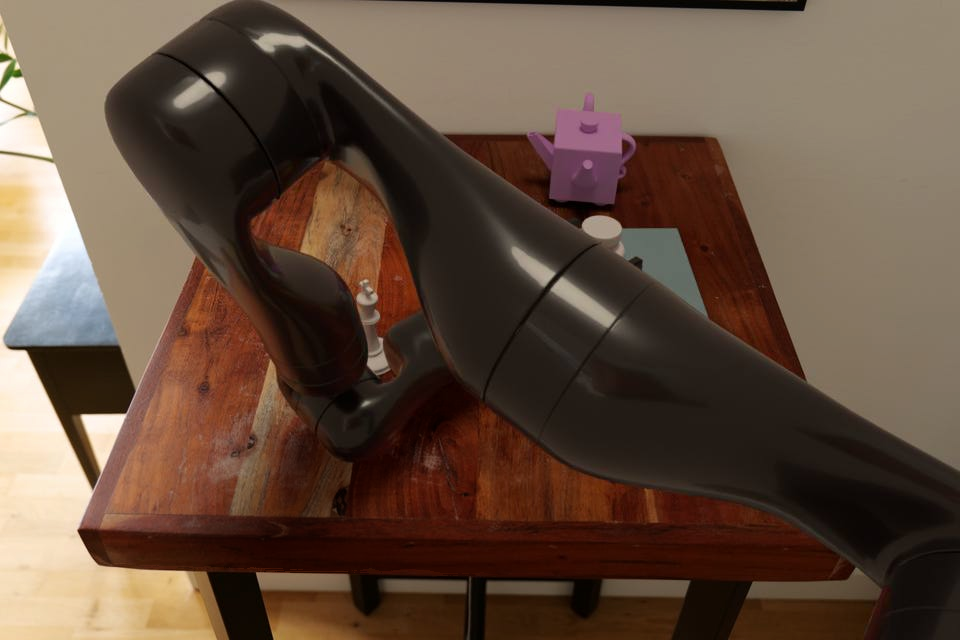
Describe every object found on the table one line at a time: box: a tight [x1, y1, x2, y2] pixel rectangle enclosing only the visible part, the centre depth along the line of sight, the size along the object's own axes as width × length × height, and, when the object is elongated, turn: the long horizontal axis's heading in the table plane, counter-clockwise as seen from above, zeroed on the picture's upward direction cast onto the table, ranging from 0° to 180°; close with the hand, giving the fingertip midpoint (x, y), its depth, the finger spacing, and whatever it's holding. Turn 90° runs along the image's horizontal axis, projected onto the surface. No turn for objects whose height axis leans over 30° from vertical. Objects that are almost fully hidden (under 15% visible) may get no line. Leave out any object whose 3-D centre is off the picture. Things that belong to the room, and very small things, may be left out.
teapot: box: [526, 92, 637, 207], centre depth 105 cm, size 18×13×10 cm
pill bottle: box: [580, 215, 625, 258], centre depth 88 cm, size 6×5×10 cm
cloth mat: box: [579, 227, 709, 318], centre depth 95 cm, size 16×22×1 cm
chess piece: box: [355, 278, 391, 376], centre depth 81 cm, size 5×5×10 cm
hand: (606, 244), depth 87 cm, fingers open, 8 cm apart
